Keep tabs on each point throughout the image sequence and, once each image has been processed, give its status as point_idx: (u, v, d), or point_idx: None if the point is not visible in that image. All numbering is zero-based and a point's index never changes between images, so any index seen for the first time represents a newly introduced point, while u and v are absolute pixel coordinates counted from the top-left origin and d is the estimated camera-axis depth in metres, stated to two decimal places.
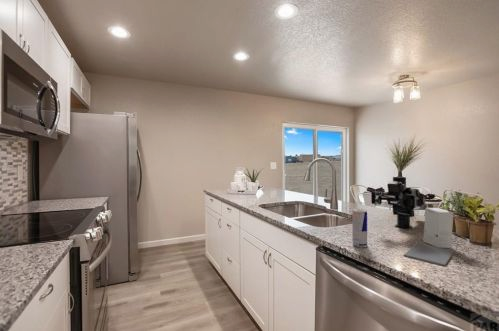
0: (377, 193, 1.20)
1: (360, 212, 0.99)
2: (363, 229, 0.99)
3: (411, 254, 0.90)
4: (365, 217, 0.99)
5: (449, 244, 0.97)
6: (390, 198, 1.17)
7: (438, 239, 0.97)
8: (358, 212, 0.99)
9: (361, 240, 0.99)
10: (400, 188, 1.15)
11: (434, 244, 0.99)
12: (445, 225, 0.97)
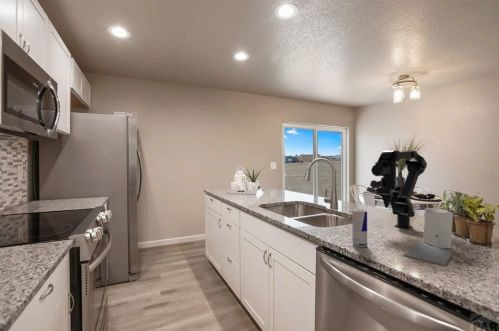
0: None
1: (360, 212, 0.99)
2: (363, 229, 0.99)
3: (411, 254, 0.90)
4: (365, 217, 0.99)
5: (449, 244, 0.97)
6: None
7: (438, 239, 0.97)
8: (358, 212, 0.99)
9: (361, 240, 0.99)
10: (375, 186, 1.24)
11: (434, 244, 0.99)
12: (444, 225, 0.97)
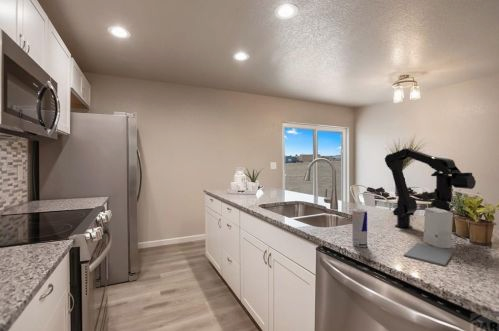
0: None
1: (360, 212, 0.99)
2: (363, 229, 0.99)
3: (411, 254, 0.90)
4: (365, 217, 0.99)
5: (449, 244, 0.97)
6: None
7: (438, 239, 0.97)
8: (358, 212, 0.99)
9: (361, 240, 0.99)
10: None
11: (434, 244, 0.99)
12: (444, 225, 0.97)
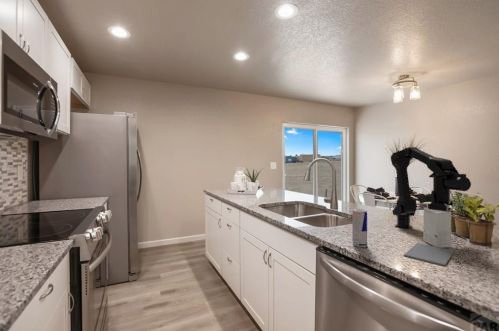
0: None
1: (360, 212, 0.99)
2: (363, 229, 0.99)
3: (411, 254, 0.90)
4: (365, 217, 0.99)
5: (449, 243, 0.97)
6: None
7: (437, 239, 0.97)
8: (358, 212, 0.99)
9: (361, 240, 0.99)
10: (424, 200, 1.08)
11: (434, 244, 0.99)
12: (443, 225, 0.97)
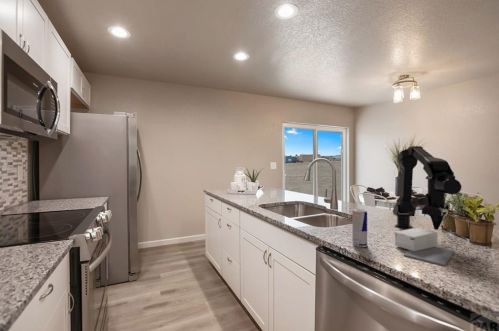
0: None
1: (360, 212, 0.99)
2: (363, 229, 0.99)
3: (411, 254, 0.90)
4: (365, 217, 0.99)
5: (435, 234, 0.98)
6: None
7: (432, 246, 0.97)
8: (358, 212, 0.99)
9: (361, 240, 0.99)
10: (418, 204, 1.01)
11: None
12: (423, 243, 0.94)
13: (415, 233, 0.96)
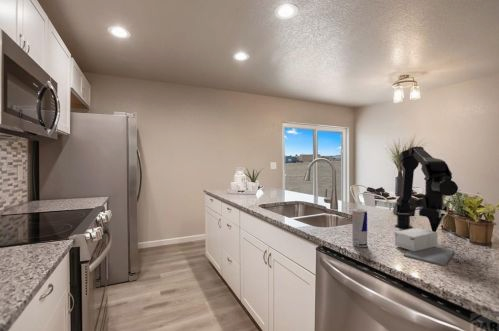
0: None
1: (360, 212, 0.99)
2: (363, 229, 0.99)
3: (411, 254, 0.90)
4: (365, 217, 0.99)
5: (435, 234, 0.98)
6: None
7: (432, 246, 0.97)
8: (358, 212, 0.99)
9: (361, 240, 0.99)
10: None
11: None
12: (423, 243, 0.94)
13: (415, 233, 0.96)
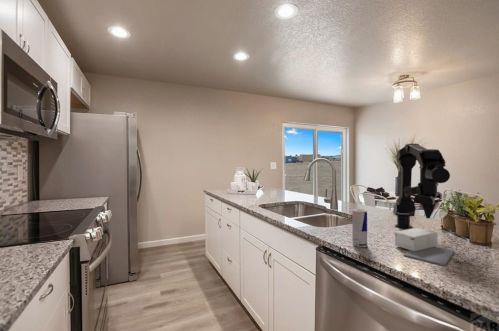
0: None
1: (360, 212, 0.99)
2: (363, 229, 0.99)
3: (411, 254, 0.90)
4: (365, 217, 0.99)
5: (435, 234, 0.98)
6: None
7: (432, 246, 0.97)
8: (358, 212, 0.99)
9: (361, 240, 0.99)
10: None
11: None
12: (423, 243, 0.94)
13: (415, 233, 0.96)
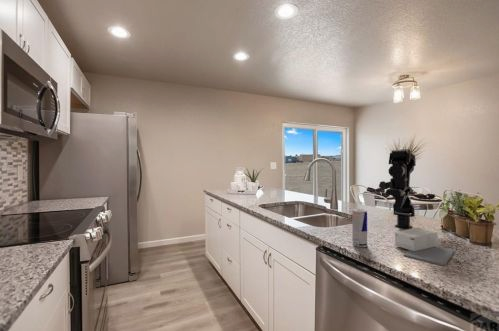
0: None
1: (360, 212, 0.99)
2: (363, 229, 0.99)
3: (411, 254, 0.90)
4: (365, 217, 0.99)
5: (435, 234, 0.98)
6: None
7: (432, 246, 0.97)
8: (358, 212, 0.99)
9: (361, 240, 0.99)
10: (385, 187, 1.19)
11: None
12: (423, 243, 0.94)
13: (415, 233, 0.96)
